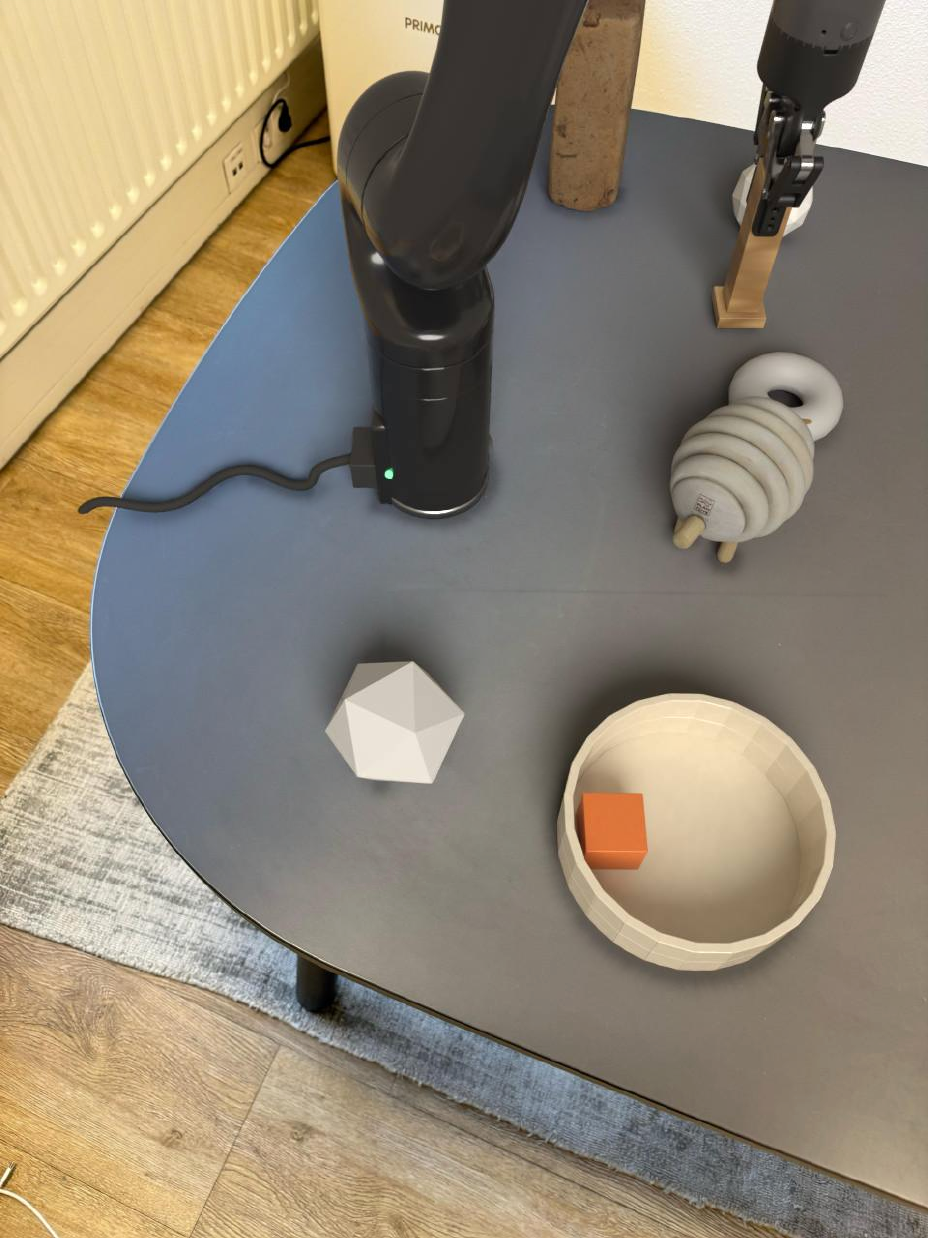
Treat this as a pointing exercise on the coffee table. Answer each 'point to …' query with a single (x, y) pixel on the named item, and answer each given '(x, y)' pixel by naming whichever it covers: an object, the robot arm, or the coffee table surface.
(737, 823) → the bowl
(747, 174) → the geometric ball
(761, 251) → the wooden pillar
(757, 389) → the donut
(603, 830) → the orange block
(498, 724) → the coffee table surface
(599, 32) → the block
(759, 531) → the toy sheep
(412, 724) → the die
